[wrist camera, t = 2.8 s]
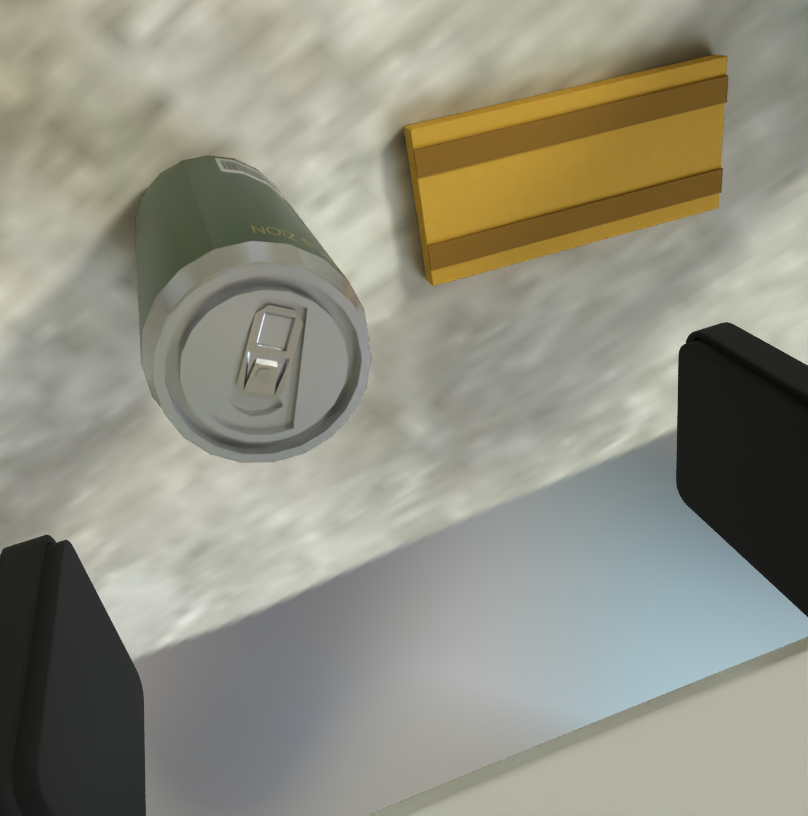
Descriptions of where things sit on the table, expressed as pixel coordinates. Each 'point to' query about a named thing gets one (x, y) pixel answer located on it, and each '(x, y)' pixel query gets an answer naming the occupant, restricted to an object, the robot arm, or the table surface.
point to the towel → (567, 167)
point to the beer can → (243, 315)
